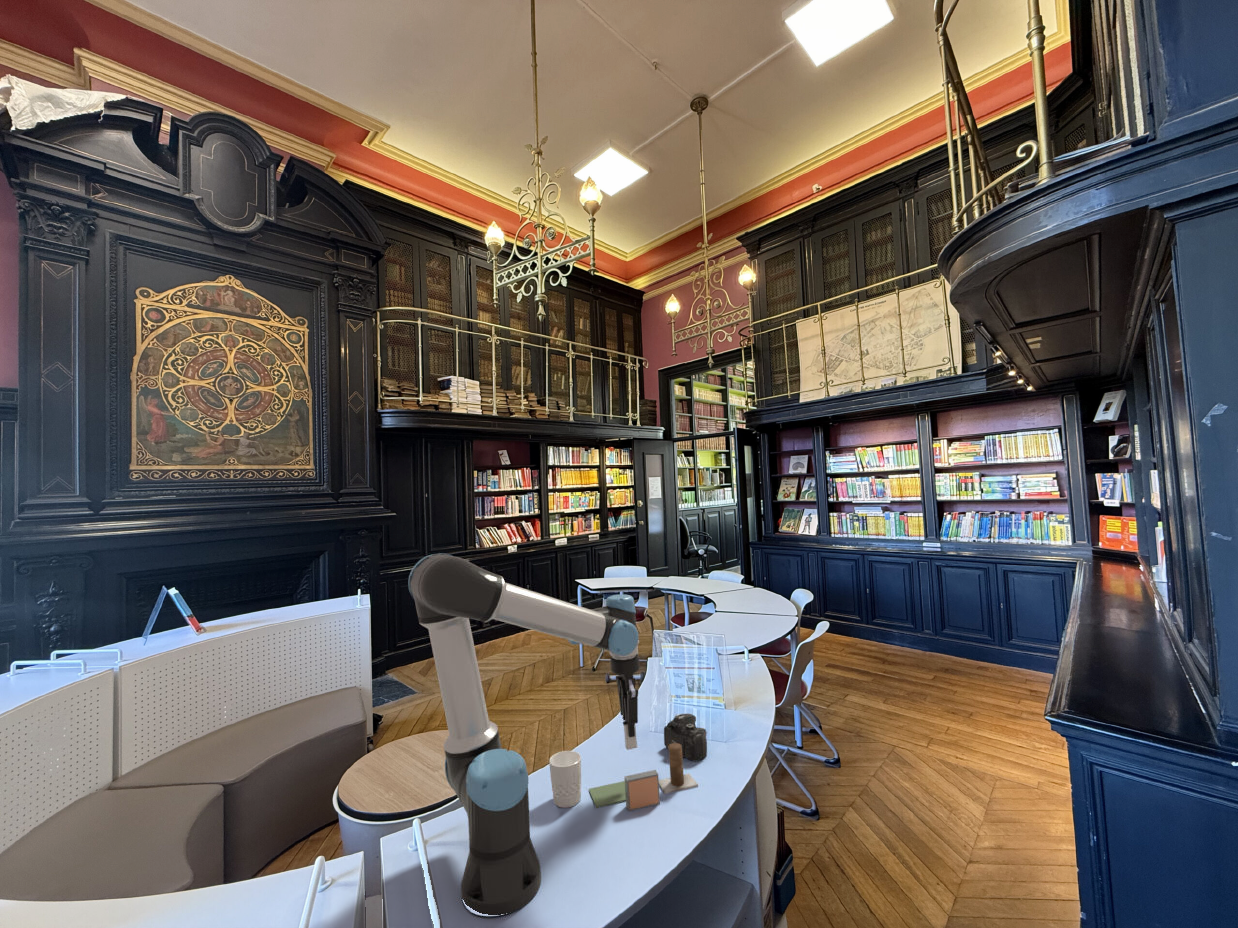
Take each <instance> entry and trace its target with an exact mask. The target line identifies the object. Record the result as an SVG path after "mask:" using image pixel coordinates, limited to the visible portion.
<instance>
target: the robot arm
mask: <svg viewBox="0 0 1238 928" xmlns="http://www.w3.org/2000/svg"><path fill="white" fill-rule="evenodd" d="M504 579H505V578H504V577H503V576H501V575H499V574H497V573H493V572H491V571H488V570H486V569H484V568H482V567H480V566H478V565H476V564H474V563H472V562H470V561H468V560H466V559H464V558H462V557H459V556H453V555H452V554H449V553H444V552H443V553H442V552H441V553H440V552H439V553H433V554H430V555H426V556H424V557H422V558H421V559H419V560H418V561H417V562H416V563H415V565H414V566H412V569H411V571H410V573H409V575H408V582H407V583H408V586H407V587H408V590H409V593H410V596H411V597H412V599H413V600H414V602H415V609H416V613H417V618H418V623H419V624H420V625H421V626H422V627H424V628H426V629H427V630H428V634H429V639H430V644H431V650H432V654H433V660H434V664H435V670H436V675H437V680H438V684H439V685H438V686H439V691H440V694H441V695H440V696H441V700H442V705H443V709H444V714H445V720H446V725H447V730H448V736H447V738H446V739H445V741H444V743H443V749H444V754H445V759H444V772H445V776H446V780H447V782H448V785H449V786H450V788H451V789H452V790H453V791H454V793H455V795H456V796H457V797H458V800H459V801H460V803H461V805H462V807H463V809H464V810H465V812H466V815H467V822H468V825H467V826H468V843H469V844H468V849H469V851H468V855H467V859H466V864H465V867H464V871H463V875H462V879H461V884H460V888H461V889H460V890H461V891H460V892H461V894H462V895H461V894H460V895H461V900H462V899H463V900H464V902H465V904H466V905H467V906H469V907H470V908H472V909H473V910H475V911H477V912H479V913H482V914H488V915H501V914H506V913H509V914H511V913H510V912H512V913H513V911H514V912H516V911H518V910H519V908H520V909H522V908H523V907H525V905H527V904H528V903H529V902H531V901H532V899H533V898H535V896H536V894H537V893H538V891H539V889H540V886H541V884H542V883H541V882H542V874H541V873H542V872H541V871H542V870H541V868H542V867H541V863H540V860H539V857H538V854H537V853H536V849H535V846H534V844H533V841H532V839H531V833H530V832H531V828H530V827H531V825H530V822H531V821H530V804H529V801H530V800H529V799H530V798H529V775H528V774H529V773H528V769H527V763H526V760H525V759H524V758H523V756H522V755H521V754H520V753H518V752H516V751H514V750H508V749H506V748H503V747H502V742H501V739H500V738H501V737H500V733H499V728H498V725H497V723H495V722H494V721H491V720H490V719H489V715H488V710H487V704H486V700H485V699H486V698H485V694H484V693H485V692H484V688H483V683H482V678H481V675H480V674H481V673H480V669H479V665H478V664H479V663H478V659H477V653H476V647H475V644H474V638H473V633H472V629H471V628H472V627H471V623H470V620H476V621H478V622H482V623H488V622H490V621H492V620H496V621H499V622H504V623H506V624H510V625H514V626H518V627H520V628H525V629H528V630H532V631H535V632H539V633H543V634H546V635H550V636H553V637H558V638H561V639H564V640H567V641H568V643H570V644H571V645H573V646H574V645H575V646H576V645H586V646H590V647H593V648H596V649H599V650H603V651H607V652H609V655H610V670H611V672H612V673H613V674H615V681H616V685H617V693H618V695H617V696H618V701H619V710H620V715H621V716H622V719H623V721H622V724H623V731H624V746H625V749H626V750H627V751H629V750H634V749H637V748H638V741H637V731H636V729H637V728H636V727H637V726H636V724H638V722H639V719H638V718H639V717H638V716H639V714H638V713H639V712H638V711H639V707H638V706H639V705H638V702H639V701H638V700H639V699H638V698H639V697H638V696H639V689H638V688H636V682H637V681H636V678H635V677H634V674H635V673H638V671H639V670H640V656H639V655H638V654H639V647H638V644H640V640H639V637H640V635H639V631H638V629H637V627H638V626H637V617H636V616H637V615H636V613H637V611H636V605H635V599H634V597H633V596H632V595H629V594H622V593H621V594H613V595H610V596H608V597H607V598H606V601H605V605H603V606H601V607H597V608H593V609H589V608H587V607H583V606H580V605H577V604H574V603H570V602H568V601H564V600H561V599H558V598H555V597H552V596H550V595H549V596H548V595H546V594H543V593H540V592H537V591H533V590H530V589H526V588H523V587H521V586H517V585H514V584H512V583H508V582H505V580H504ZM506 915H507V914H506Z"/></svg>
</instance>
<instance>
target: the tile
mask: <svg viewBox="0 0 1238 928" xmlns="http://www.w3.org/2000/svg"><path fill="white" fill-rule="evenodd" d="M659 778H660V777H659V772H658V771H657V769H653V770H648V771H642V772H639V773H634V774H628V775H626V776H625V775H624V781H625V795H626V801H625V807H626V809H627V811H628V812H630V811H634V810H639V809H643V808H648V807H652V806H656V805H657V806H658V805H660V804H661V800H660V799H661V798H660V796H661V795H660V786H659V780H660V779H659Z"/></svg>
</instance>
